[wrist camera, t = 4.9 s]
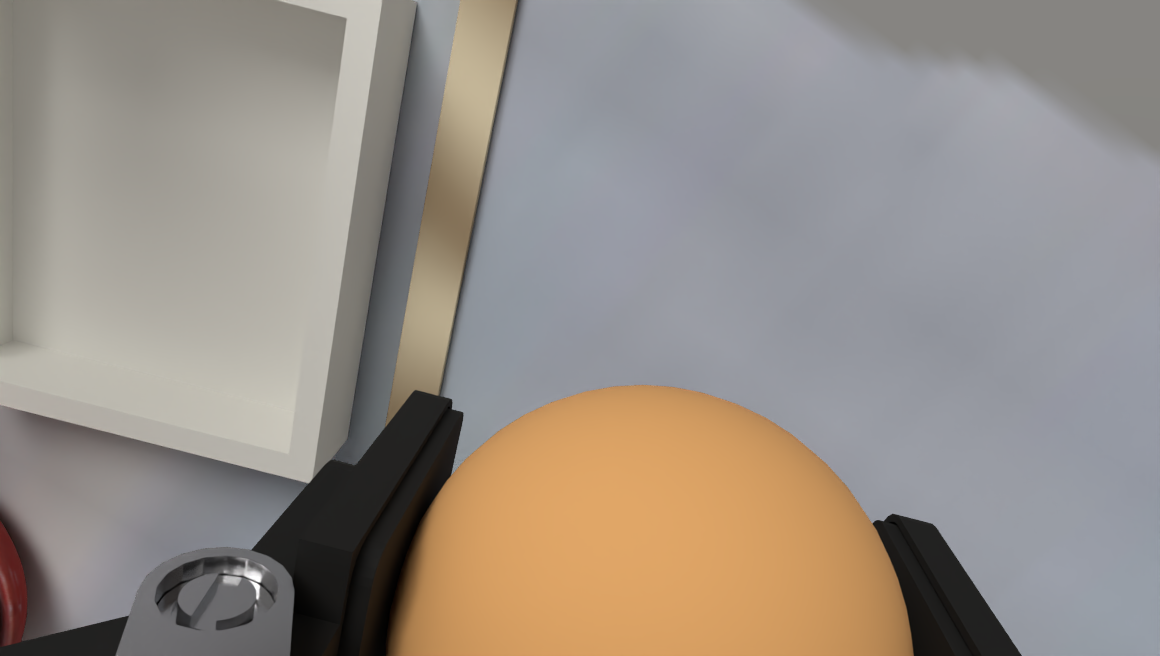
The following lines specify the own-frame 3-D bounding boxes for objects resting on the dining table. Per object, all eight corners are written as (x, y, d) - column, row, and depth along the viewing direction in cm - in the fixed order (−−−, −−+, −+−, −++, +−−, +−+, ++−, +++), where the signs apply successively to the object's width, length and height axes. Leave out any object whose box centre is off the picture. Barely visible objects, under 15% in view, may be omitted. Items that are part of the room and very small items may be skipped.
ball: (769, 705, 13) (866, 1183, 7) (424, 615, 13) (253, 1021, 7) (897, 383, 11) (1158, 680, 6) (497, 279, 11) (347, 471, 6)
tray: (347, 439, 26) (311, 484, 23) (1, 351, 26) (-77, 385, 23) (417, 2, 22) (383, -9, 19) (-2, -106, 22) (-99, -133, 19)
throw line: (416, 508, 27) (414, 513, 27) (374, 498, 27) (371, 502, 27) (544, -132, 20) (543, -135, 20) (489, -147, 20) (486, -150, 20)
